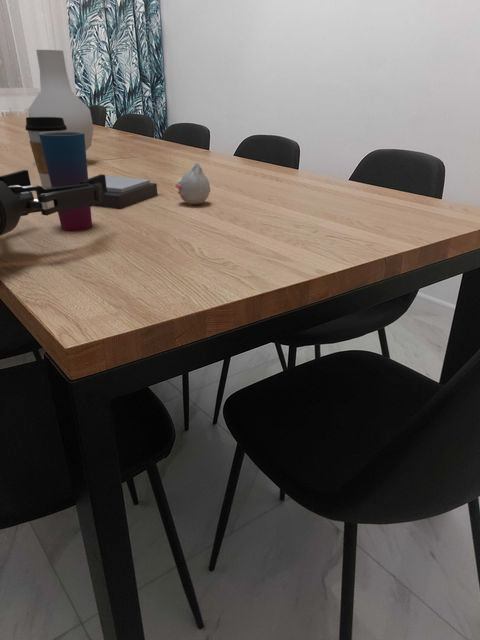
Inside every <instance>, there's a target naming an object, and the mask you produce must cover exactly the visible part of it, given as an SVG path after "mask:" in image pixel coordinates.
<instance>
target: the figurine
mask: <svg viewBox="0 0 480 640" xmlns="http://www.w3.org/2000/svg"><path fill="white" fill-rule="evenodd" d="M174 186H175V187H176V189H177V194H179V196H180V198H181V200H183V201H184V202H185V203H186V204H187V203H188V204H190V205H199V204H202V203H204V202H205V201H207V199H208V197H209V196H210V192H211V186H210V181H209V179H208V177H207V176H206V175H205V173H204V172H203V168H202V167H201V165H200V163H198V162H196V163H194V164H193V166H192V167H191V169H190V170H188V171H187V172H186V173H184V174H183V175H182V176H181V177H180V178H179V180H178V182H177V183H176V184H175V185H174Z"/></svg>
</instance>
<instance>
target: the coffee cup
mask: <svg viewBox="0 0 480 640" xmlns="http://www.w3.org/2000/svg"><path fill="white" fill-rule="evenodd" d="M24 127H25V131H27V133H28V134H27V135H28V138H29V145H30V148H31V152H32V154H33V159H34V162H35V165H36V169H37V172H38V175H39V179H40V183H41V184H40V185H41V187H43V188H49V187H52V186H51V182H50V178H49V174H48V170H47V166H46V161H45V157H44V153H43V149H42V145H41V141H40V137H39V133H41V132H48V131H65V130H67V128H66V125H65V124H64V120H63V118H60V117H29V116H27V117H25V125H24Z"/></svg>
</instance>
